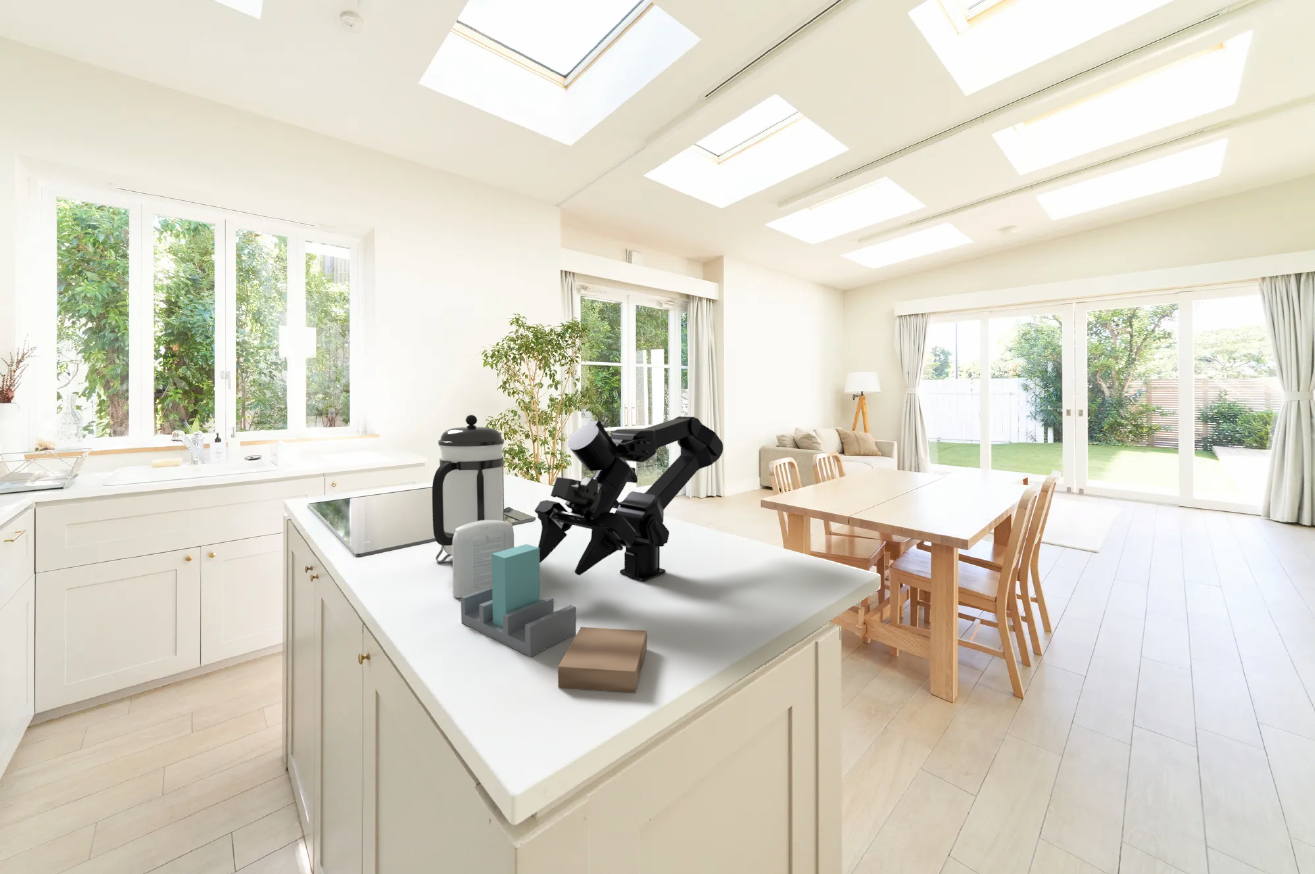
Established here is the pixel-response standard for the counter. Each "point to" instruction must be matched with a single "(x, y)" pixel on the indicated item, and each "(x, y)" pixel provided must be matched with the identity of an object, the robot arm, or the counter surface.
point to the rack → (520, 622)
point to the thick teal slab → (514, 580)
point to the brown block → (603, 660)
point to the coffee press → (467, 481)
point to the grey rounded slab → (478, 553)
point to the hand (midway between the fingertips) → (556, 567)
